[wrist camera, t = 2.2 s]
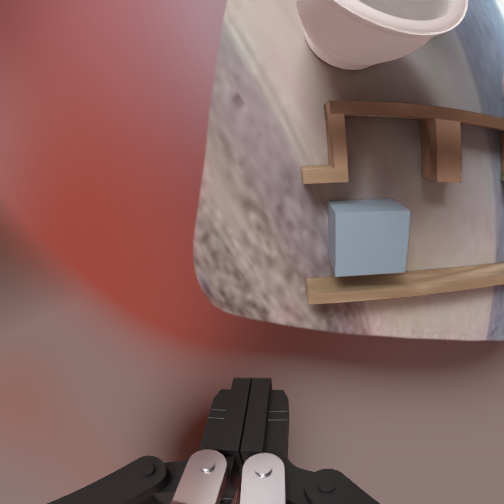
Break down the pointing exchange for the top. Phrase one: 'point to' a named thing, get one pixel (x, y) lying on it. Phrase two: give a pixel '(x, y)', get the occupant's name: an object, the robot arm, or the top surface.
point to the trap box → (433, 167)
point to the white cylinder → (503, 87)
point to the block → (368, 236)
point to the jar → (374, 28)
